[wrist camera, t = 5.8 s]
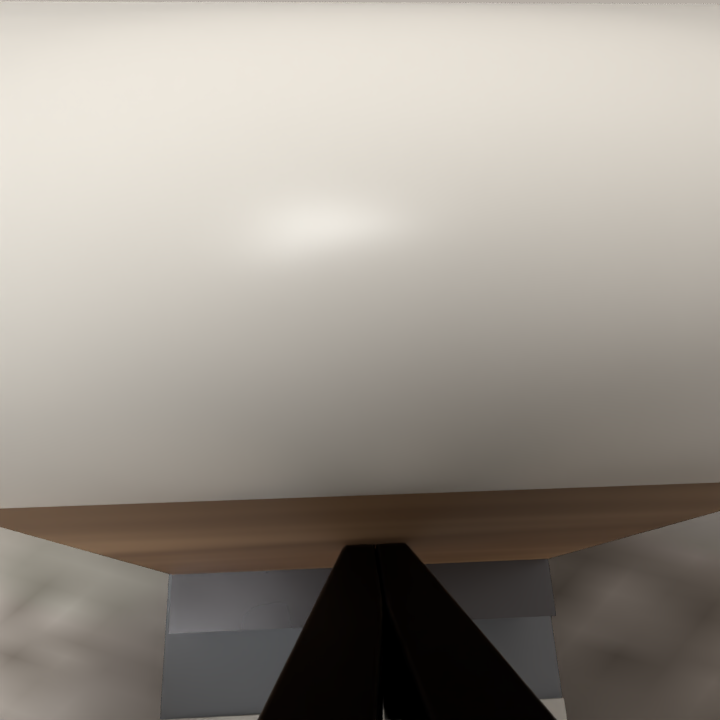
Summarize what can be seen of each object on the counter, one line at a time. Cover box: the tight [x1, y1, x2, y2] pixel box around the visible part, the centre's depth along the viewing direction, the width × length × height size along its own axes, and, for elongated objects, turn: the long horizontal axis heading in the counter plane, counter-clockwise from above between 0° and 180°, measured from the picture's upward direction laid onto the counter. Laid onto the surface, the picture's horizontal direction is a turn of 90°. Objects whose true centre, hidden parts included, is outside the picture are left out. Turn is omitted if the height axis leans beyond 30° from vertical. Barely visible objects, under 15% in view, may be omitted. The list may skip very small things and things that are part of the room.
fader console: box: [160, 574, 567, 720], centre depth 14 cm, size 15×8×2 cm, turn 2°
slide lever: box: [0, 1, 720, 634], centre depth 8 cm, size 4×7×12 cm, turn 92°
